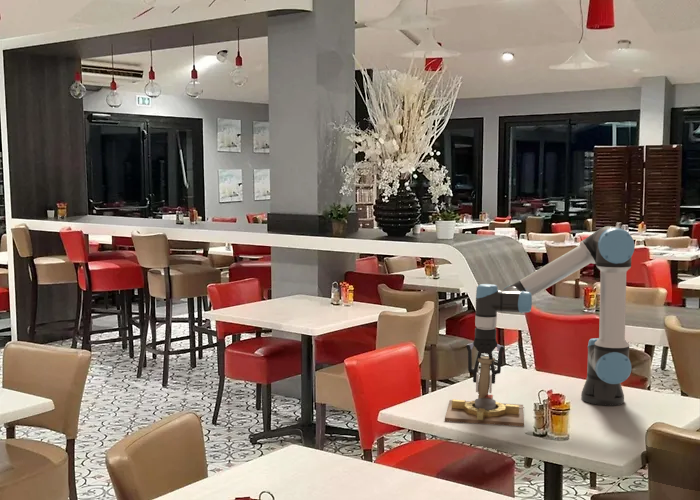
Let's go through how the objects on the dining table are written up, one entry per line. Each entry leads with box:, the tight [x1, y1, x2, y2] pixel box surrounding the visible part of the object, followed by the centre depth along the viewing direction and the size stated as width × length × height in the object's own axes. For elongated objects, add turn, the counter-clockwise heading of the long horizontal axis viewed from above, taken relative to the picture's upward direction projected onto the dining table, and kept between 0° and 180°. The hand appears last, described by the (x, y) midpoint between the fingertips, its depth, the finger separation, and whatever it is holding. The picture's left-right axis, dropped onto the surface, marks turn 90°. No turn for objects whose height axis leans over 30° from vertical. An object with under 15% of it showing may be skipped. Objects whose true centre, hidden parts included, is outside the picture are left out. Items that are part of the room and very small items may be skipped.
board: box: [444, 397, 525, 428], centre depth 280 cm, size 26×22×5 cm
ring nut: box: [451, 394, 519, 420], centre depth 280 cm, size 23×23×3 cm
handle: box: [477, 356, 496, 399], centre depth 291 cm, size 5×6×15 cm
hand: (483, 391), depth 292 cm, fingers closed on handle, 4 cm apart
